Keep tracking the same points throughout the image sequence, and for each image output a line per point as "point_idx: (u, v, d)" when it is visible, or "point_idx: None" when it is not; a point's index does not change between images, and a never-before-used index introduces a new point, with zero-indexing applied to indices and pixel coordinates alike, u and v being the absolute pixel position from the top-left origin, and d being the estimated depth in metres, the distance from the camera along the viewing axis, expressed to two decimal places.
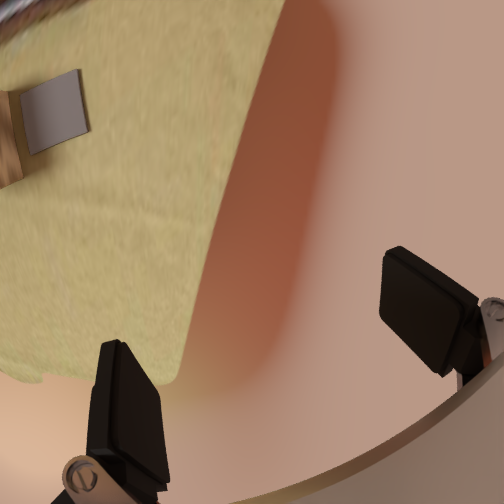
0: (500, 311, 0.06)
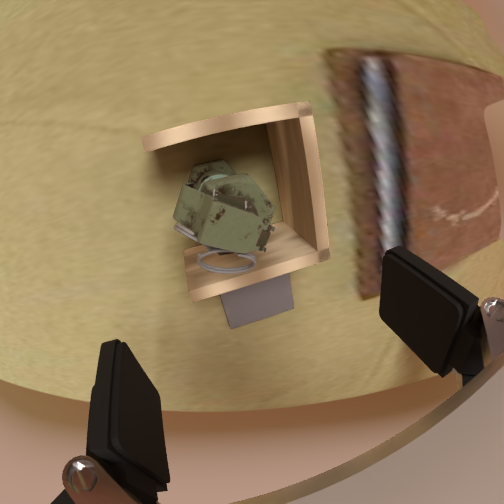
0: (500, 311, 0.06)
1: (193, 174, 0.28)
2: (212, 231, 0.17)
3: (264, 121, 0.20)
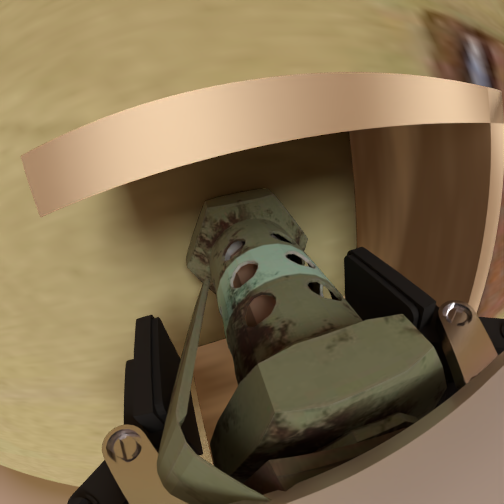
0: (459, 313, 0.07)
1: (204, 225, 0.13)
2: None
3: (443, 118, 0.06)
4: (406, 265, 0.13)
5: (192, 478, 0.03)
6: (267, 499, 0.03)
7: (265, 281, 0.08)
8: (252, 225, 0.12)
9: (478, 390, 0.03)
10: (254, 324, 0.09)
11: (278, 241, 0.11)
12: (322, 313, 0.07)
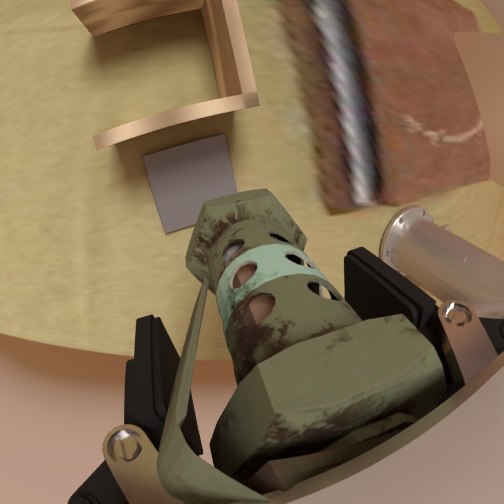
0: (459, 313, 0.06)
1: (203, 225, 0.13)
2: None
3: None
4: (221, 55, 0.22)
5: (192, 479, 0.03)
6: (267, 500, 0.03)
7: (264, 281, 0.08)
8: (251, 225, 0.12)
9: (478, 390, 0.03)
10: (253, 324, 0.09)
11: (277, 241, 0.11)
12: (322, 313, 0.07)
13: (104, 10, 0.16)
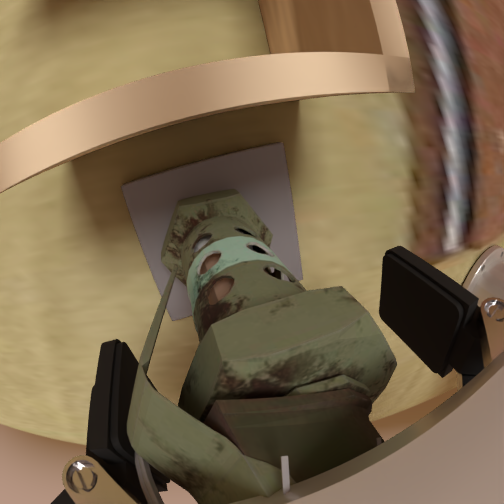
0: (500, 311, 0.06)
1: (176, 222, 0.14)
2: None
3: None
4: None
5: (153, 419, 0.04)
6: (213, 432, 0.04)
7: (226, 266, 0.09)
8: (219, 221, 0.13)
9: (478, 390, 0.03)
10: None
11: (241, 234, 0.12)
12: (274, 290, 0.08)
13: None
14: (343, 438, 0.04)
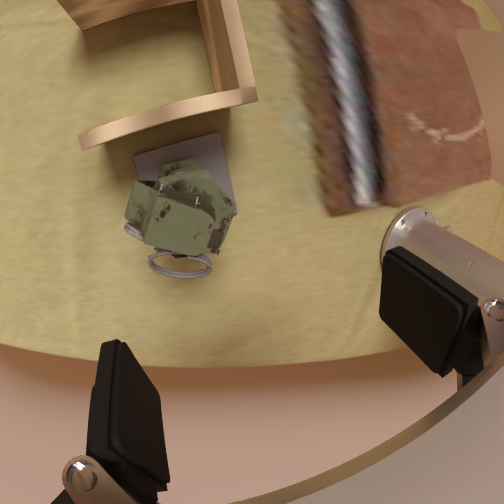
0: (500, 311, 0.06)
1: (160, 172, 0.26)
2: (157, 230, 0.15)
3: None
4: (216, 48, 0.20)
5: (135, 193, 0.16)
6: (149, 187, 0.16)
7: None
8: (180, 169, 0.25)
9: (478, 390, 0.03)
10: None
11: (187, 171, 0.24)
12: None
13: (92, 1, 0.14)
14: (188, 200, 0.16)
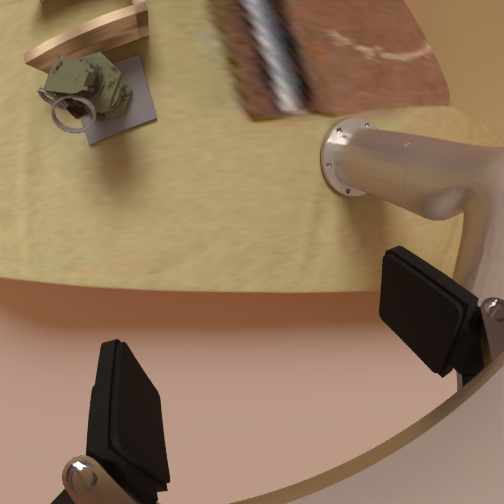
0: (500, 311, 0.06)
1: None
2: (53, 79, 0.14)
3: None
4: None
5: (50, 72, 0.16)
6: None
7: None
8: None
9: (478, 390, 0.03)
10: None
11: None
12: None
13: None
14: None
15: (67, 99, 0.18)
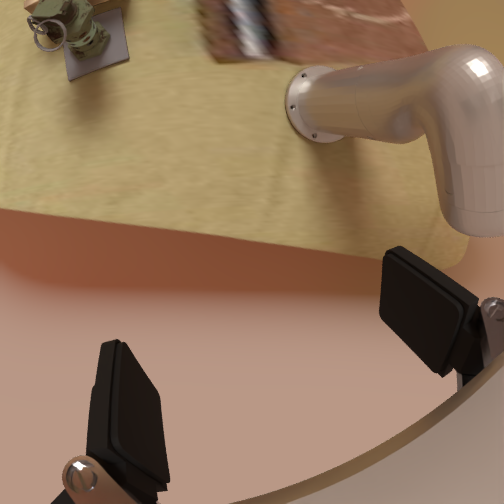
0: (500, 311, 0.06)
1: None
2: (38, 8, 0.13)
3: None
4: None
5: None
6: None
7: None
8: None
9: (478, 390, 0.03)
10: None
11: None
12: None
13: None
14: None
15: (48, 27, 0.16)
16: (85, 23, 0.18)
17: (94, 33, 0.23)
